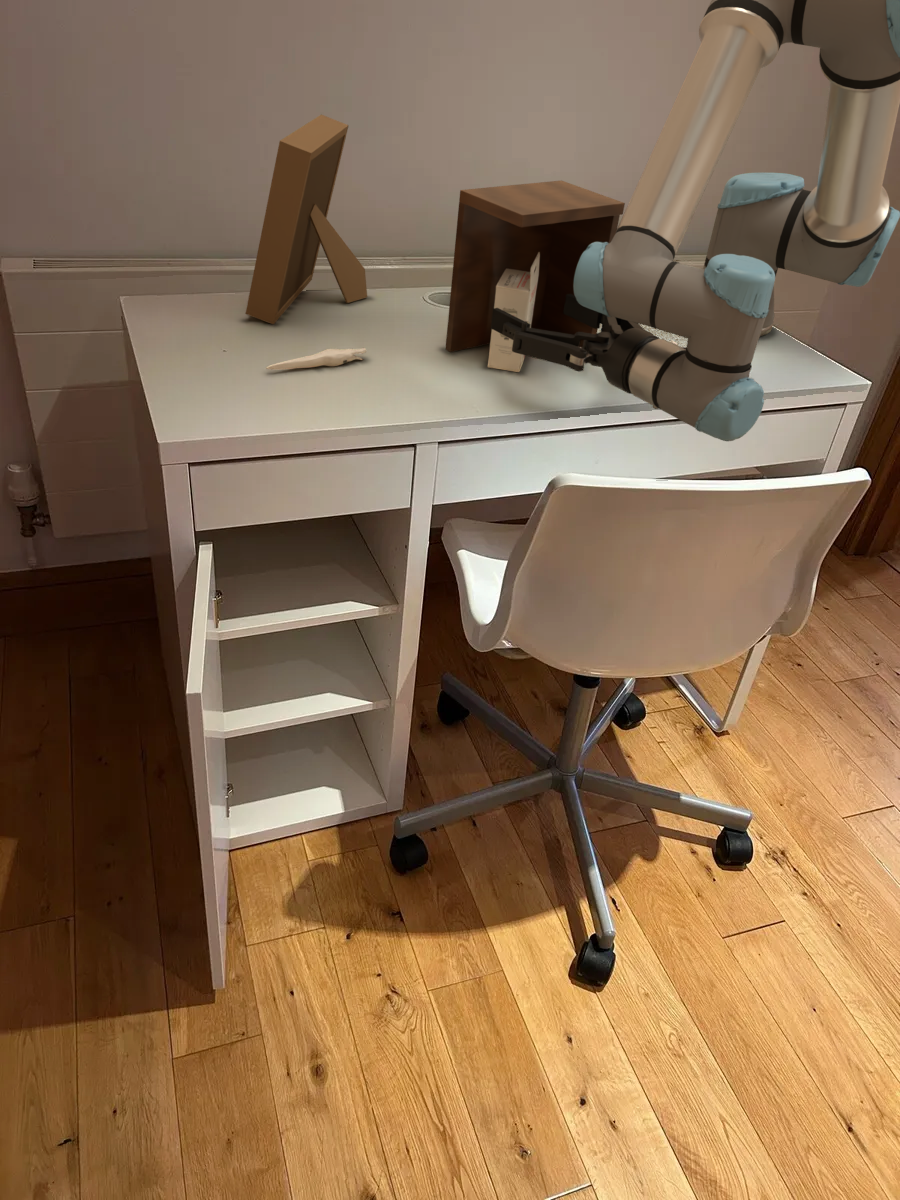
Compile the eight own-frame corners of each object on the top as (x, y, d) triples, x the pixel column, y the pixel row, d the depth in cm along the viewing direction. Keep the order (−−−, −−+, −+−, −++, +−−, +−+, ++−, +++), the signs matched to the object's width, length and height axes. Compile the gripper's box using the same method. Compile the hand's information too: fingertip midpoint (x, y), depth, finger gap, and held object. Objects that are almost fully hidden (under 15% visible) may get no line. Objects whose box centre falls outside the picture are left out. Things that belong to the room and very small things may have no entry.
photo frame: (245, 320, 137) (238, 135, 122) (287, 276, 154) (284, 109, 139) (343, 334, 136) (347, 149, 121) (373, 288, 153) (381, 122, 138)
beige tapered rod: (361, 355, 130) (361, 342, 129) (370, 362, 128) (370, 349, 127) (261, 370, 123) (261, 356, 122) (269, 378, 121) (269, 364, 120)
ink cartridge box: (495, 346, 138) (507, 245, 129) (527, 351, 137) (542, 250, 128) (485, 367, 131) (498, 262, 122) (519, 373, 130) (535, 268, 121)
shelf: (538, 329, 145) (561, 180, 132) (594, 358, 137) (625, 203, 124) (445, 349, 135) (460, 189, 122) (500, 381, 127) (522, 215, 114)
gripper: (569, 415, 110) (458, 352, 122) (702, 376, 123) (589, 323, 136) (581, 355, 105) (464, 295, 118) (716, 322, 119) (599, 271, 131)
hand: (531, 310), depth 127 cm, fingers open, 13 cm apart
